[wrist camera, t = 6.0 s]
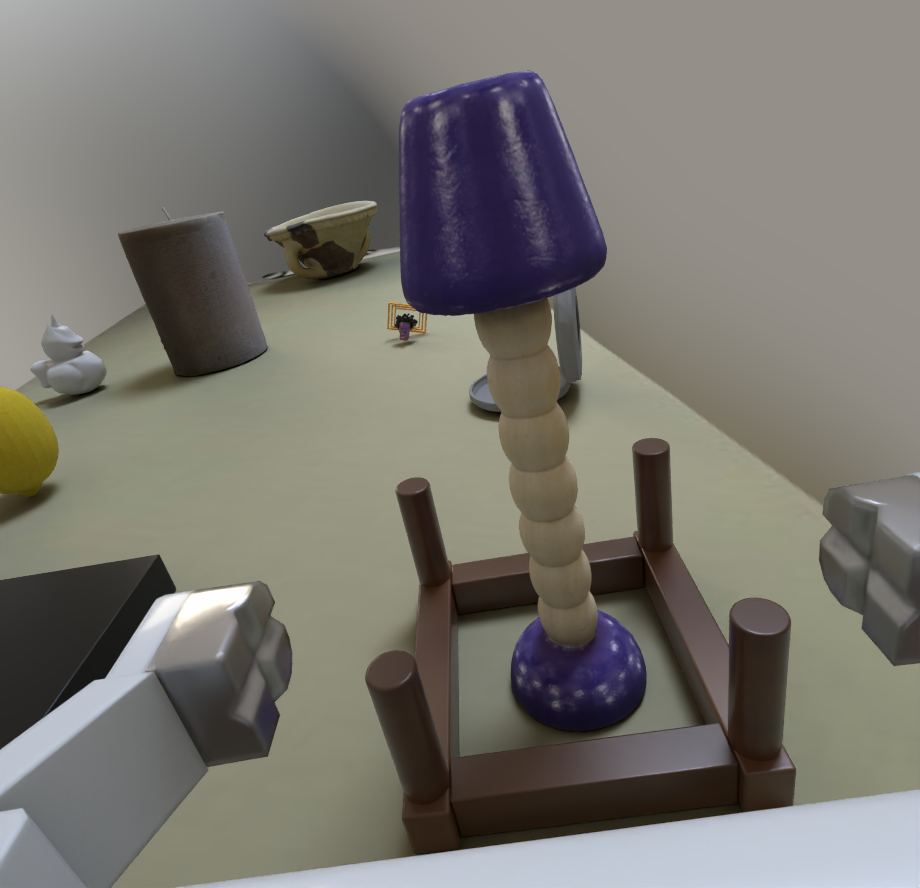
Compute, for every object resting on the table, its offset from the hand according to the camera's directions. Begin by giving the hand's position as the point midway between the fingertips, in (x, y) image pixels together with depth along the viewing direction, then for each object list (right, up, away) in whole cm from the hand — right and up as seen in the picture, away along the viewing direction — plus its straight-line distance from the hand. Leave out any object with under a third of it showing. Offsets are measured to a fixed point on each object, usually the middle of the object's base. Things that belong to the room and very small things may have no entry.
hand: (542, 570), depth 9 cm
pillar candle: (-26, +11, +55) cm, 61 cm away
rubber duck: (-39, +7, +53) cm, 67 cm away
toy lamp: (+2, -6, +11) cm, 12 cm away
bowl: (-21, +29, +90) cm, 97 cm away
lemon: (-29, -2, +32) cm, 43 cm away
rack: (+2, -5, +11) cm, 12 cm away
